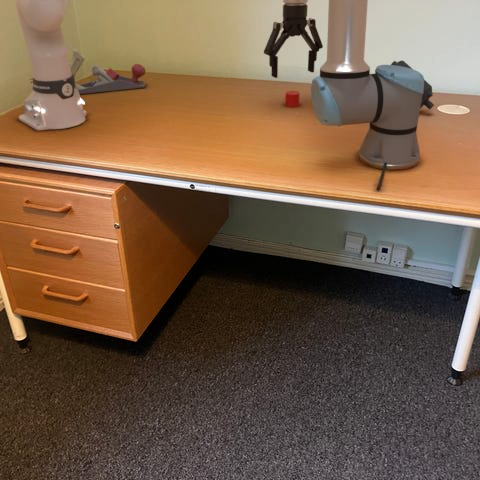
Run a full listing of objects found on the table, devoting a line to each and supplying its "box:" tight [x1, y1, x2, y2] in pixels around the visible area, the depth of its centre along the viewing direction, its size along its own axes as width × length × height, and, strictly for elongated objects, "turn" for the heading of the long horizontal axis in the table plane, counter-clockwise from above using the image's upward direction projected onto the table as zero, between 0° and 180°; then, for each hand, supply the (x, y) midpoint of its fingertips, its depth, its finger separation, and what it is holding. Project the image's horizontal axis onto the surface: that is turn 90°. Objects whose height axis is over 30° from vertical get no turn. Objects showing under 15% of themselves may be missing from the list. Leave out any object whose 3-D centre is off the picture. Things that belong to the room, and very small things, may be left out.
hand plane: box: [70, 48, 146, 95], centre depth 194 cm, size 7×31×15 cm, turn 107°
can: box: [284, 90, 301, 108], centre depth 178 cm, size 5×5×4 cm
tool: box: [390, 60, 435, 111], centre depth 170 cm, size 6×19×15 cm, turn 51°
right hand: (292, 74), depth 173 cm, fingers open, 13 cm apart
